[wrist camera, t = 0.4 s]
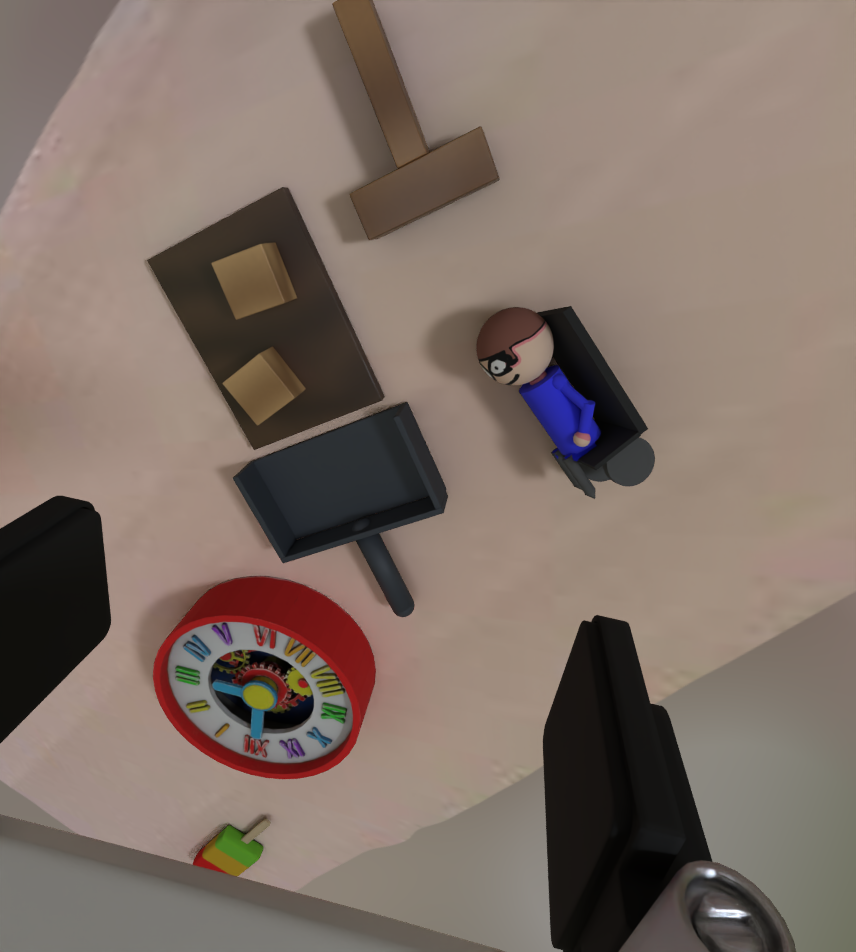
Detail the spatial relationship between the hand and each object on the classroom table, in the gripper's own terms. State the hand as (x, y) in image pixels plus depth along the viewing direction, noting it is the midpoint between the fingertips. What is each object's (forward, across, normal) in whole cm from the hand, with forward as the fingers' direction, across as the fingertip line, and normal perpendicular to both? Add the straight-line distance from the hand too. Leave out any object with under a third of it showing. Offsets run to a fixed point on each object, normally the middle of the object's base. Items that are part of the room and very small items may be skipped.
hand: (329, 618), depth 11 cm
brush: (+34, +7, -12) cm, 37 cm away
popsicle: (+34, +16, +68) cm, 78 cm away
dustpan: (+34, +5, +18) cm, 39 cm away
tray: (+34, +15, +3) cm, 37 cm away
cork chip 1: (+33, +15, 0) cm, 36 cm away
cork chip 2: (+33, +14, +7) cm, 37 cm away
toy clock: (+34, +13, +36) cm, 52 cm away
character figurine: (+34, -8, +3) cm, 35 cm away
